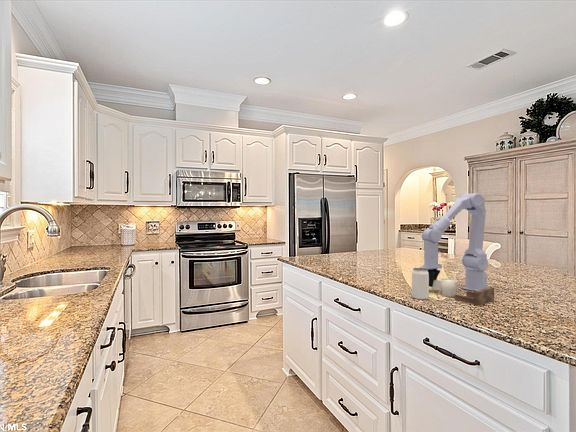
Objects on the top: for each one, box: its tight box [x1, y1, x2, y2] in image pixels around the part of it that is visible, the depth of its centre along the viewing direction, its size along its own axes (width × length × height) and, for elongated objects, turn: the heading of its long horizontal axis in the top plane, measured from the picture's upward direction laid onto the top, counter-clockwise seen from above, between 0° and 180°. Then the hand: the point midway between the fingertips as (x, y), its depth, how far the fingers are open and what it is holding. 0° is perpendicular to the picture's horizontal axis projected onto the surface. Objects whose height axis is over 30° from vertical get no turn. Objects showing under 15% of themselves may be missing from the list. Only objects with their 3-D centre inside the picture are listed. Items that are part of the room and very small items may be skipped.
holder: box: [454, 286, 495, 307], centre depth 133 cm, size 14×10×5 cm
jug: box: [431, 278, 459, 298], centre depth 142 cm, size 11×6×6 cm, turn 36°
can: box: [411, 267, 430, 301], centre depth 136 cm, size 6×6×12 cm
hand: (431, 286), depth 147 cm, fingers closed on jug
